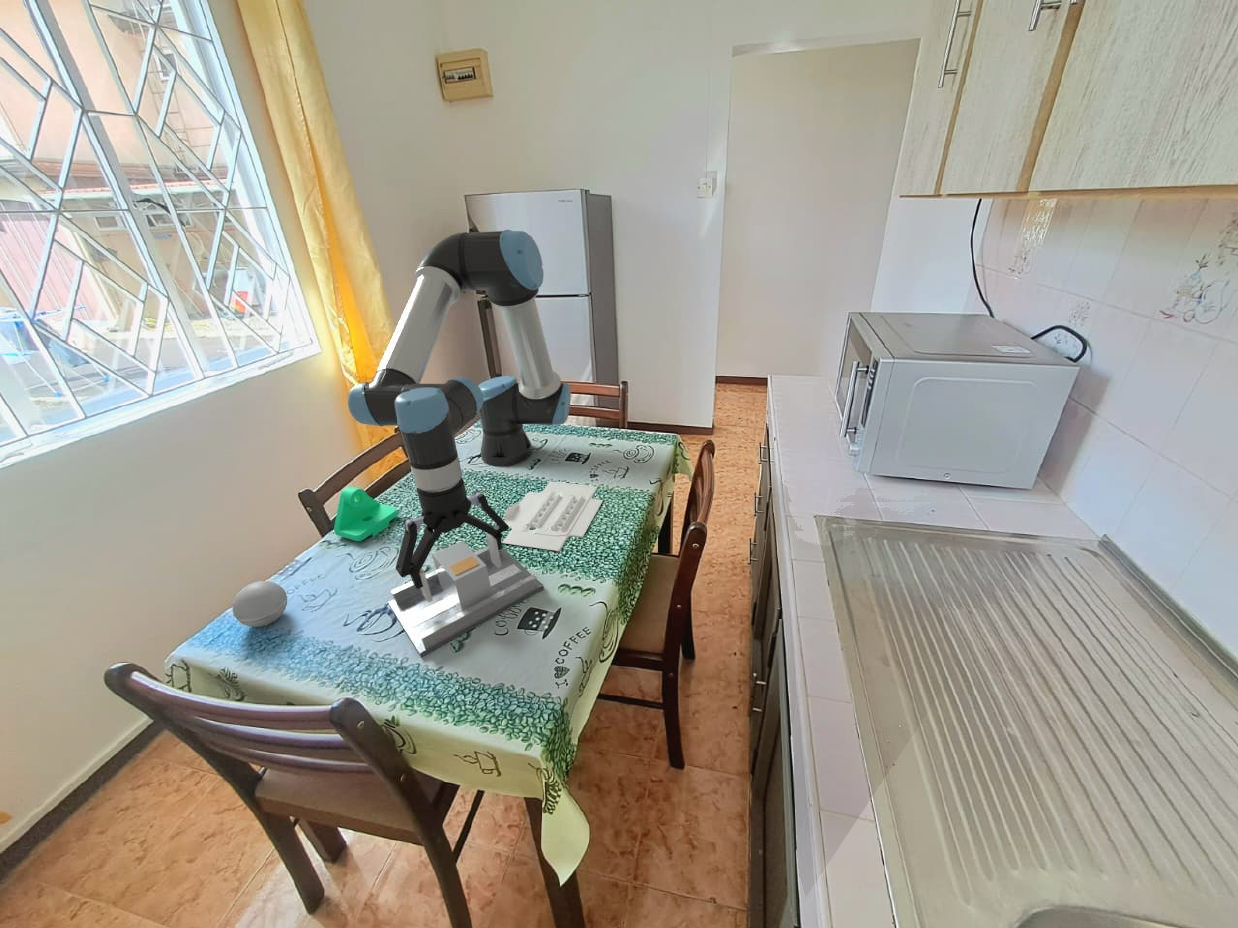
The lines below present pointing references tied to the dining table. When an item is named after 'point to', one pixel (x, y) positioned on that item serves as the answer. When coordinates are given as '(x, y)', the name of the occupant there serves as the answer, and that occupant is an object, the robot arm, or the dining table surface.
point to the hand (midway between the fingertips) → (463, 580)
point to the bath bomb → (259, 603)
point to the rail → (444, 619)
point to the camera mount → (361, 515)
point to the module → (462, 575)
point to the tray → (551, 515)
